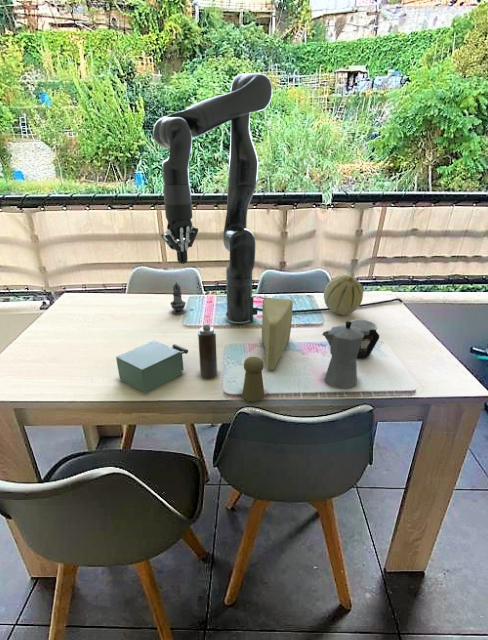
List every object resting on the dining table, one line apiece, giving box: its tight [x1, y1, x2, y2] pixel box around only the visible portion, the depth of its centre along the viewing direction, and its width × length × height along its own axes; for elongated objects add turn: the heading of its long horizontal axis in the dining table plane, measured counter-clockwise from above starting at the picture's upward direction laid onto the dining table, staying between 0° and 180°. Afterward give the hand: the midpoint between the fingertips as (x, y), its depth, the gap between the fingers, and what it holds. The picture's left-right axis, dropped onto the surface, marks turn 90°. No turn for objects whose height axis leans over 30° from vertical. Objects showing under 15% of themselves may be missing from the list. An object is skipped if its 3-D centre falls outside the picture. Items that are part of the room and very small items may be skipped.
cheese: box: [261, 297, 294, 371], centre depth 128 cm, size 22×10×15 cm, turn 172°
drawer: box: [160, 342, 189, 371], centre depth 120 cm, size 17×10×6 cm, turn 140°
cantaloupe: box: [323, 274, 364, 316], centre depth 158 cm, size 15×15×15 cm
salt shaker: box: [169, 281, 186, 315], centre depth 159 cm, size 6×6×12 cm
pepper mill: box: [197, 323, 218, 380], centre depth 117 cm, size 5×5×16 cm
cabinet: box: [115, 340, 183, 394], centre depth 118 cm, size 13×11×7 cm
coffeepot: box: [321, 320, 380, 389], centre depth 114 cm, size 15×9×18 cm, turn 92°
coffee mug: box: [350, 319, 378, 360], centre depth 130 cm, size 12×9×10 cm
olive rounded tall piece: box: [241, 356, 265, 403], centre depth 109 cm, size 6×6×11 cm
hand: (182, 262), depth 125 cm, fingers closed
